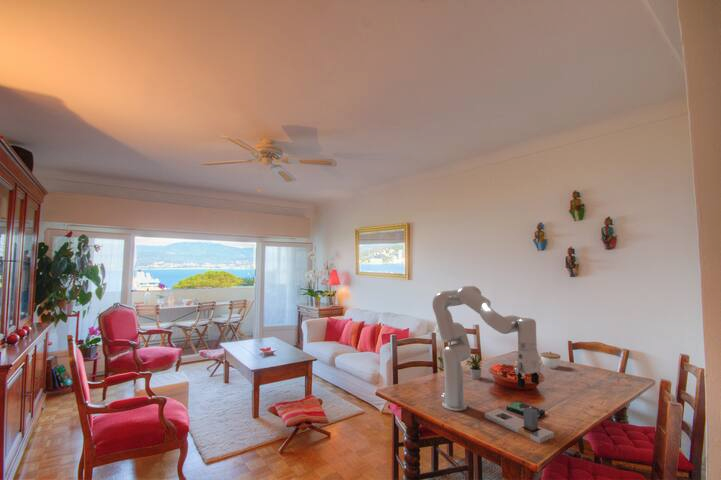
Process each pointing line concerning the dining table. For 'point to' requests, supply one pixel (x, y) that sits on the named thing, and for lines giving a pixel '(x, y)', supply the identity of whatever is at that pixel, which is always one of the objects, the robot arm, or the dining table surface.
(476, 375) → the house plant
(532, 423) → the steel block
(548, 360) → the lidded bowl
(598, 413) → the dining table surface
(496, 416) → the grey slotted board
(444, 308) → the robot arm
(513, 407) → the disk drive
